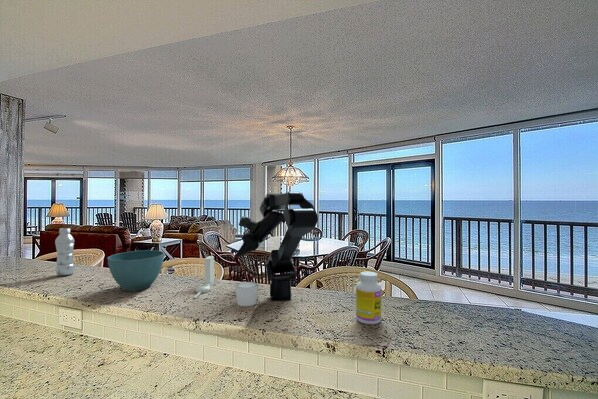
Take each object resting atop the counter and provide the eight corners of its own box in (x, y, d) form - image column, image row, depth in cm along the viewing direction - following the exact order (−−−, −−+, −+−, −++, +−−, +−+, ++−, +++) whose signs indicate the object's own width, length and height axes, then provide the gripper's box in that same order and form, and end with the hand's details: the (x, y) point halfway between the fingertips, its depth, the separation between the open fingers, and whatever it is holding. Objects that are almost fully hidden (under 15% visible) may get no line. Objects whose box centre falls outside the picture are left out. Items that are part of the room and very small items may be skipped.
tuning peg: (217, 282, 111) (217, 256, 110) (202, 298, 93) (202, 267, 93) (204, 282, 111) (204, 256, 110) (186, 298, 93) (186, 267, 93)
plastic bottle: (67, 277, 123) (66, 229, 123) (51, 277, 123) (50, 229, 123) (79, 273, 130) (78, 227, 129) (63, 273, 130) (63, 227, 129)
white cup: (246, 313, 86) (246, 289, 85) (230, 308, 90) (230, 285, 90) (262, 306, 91) (262, 284, 91) (247, 301, 95) (247, 280, 95)
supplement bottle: (376, 327, 77) (376, 278, 77) (352, 321, 80) (352, 274, 80) (384, 318, 82) (384, 272, 82) (361, 313, 86) (361, 269, 86)
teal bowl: (132, 299, 98) (132, 261, 97) (95, 292, 104) (95, 257, 104) (174, 283, 114) (174, 252, 114) (140, 278, 121) (140, 248, 121)
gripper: (256, 207, 117) (228, 235, 117) (247, 210, 98) (214, 243, 98) (276, 227, 117) (248, 255, 117) (271, 233, 98) (238, 266, 98)
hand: (237, 254), depth 108 cm, fingers open, 3 cm apart
